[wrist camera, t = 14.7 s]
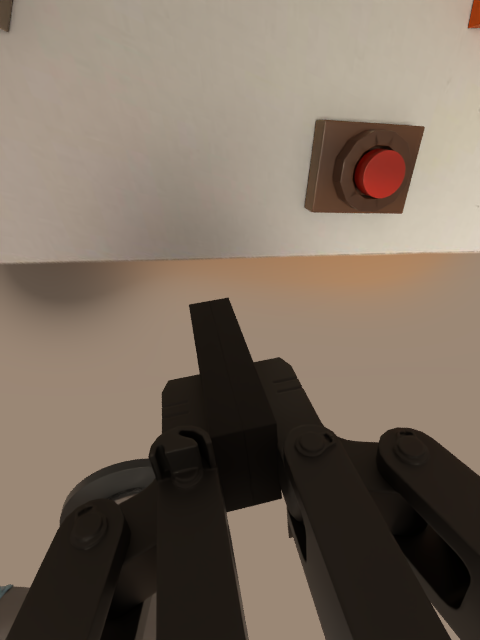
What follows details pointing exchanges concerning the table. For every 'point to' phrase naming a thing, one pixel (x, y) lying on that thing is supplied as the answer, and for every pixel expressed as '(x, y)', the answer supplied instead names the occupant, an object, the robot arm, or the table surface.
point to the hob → (5, 14)
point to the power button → (380, 173)
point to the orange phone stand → (475, 15)
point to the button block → (341, 161)
